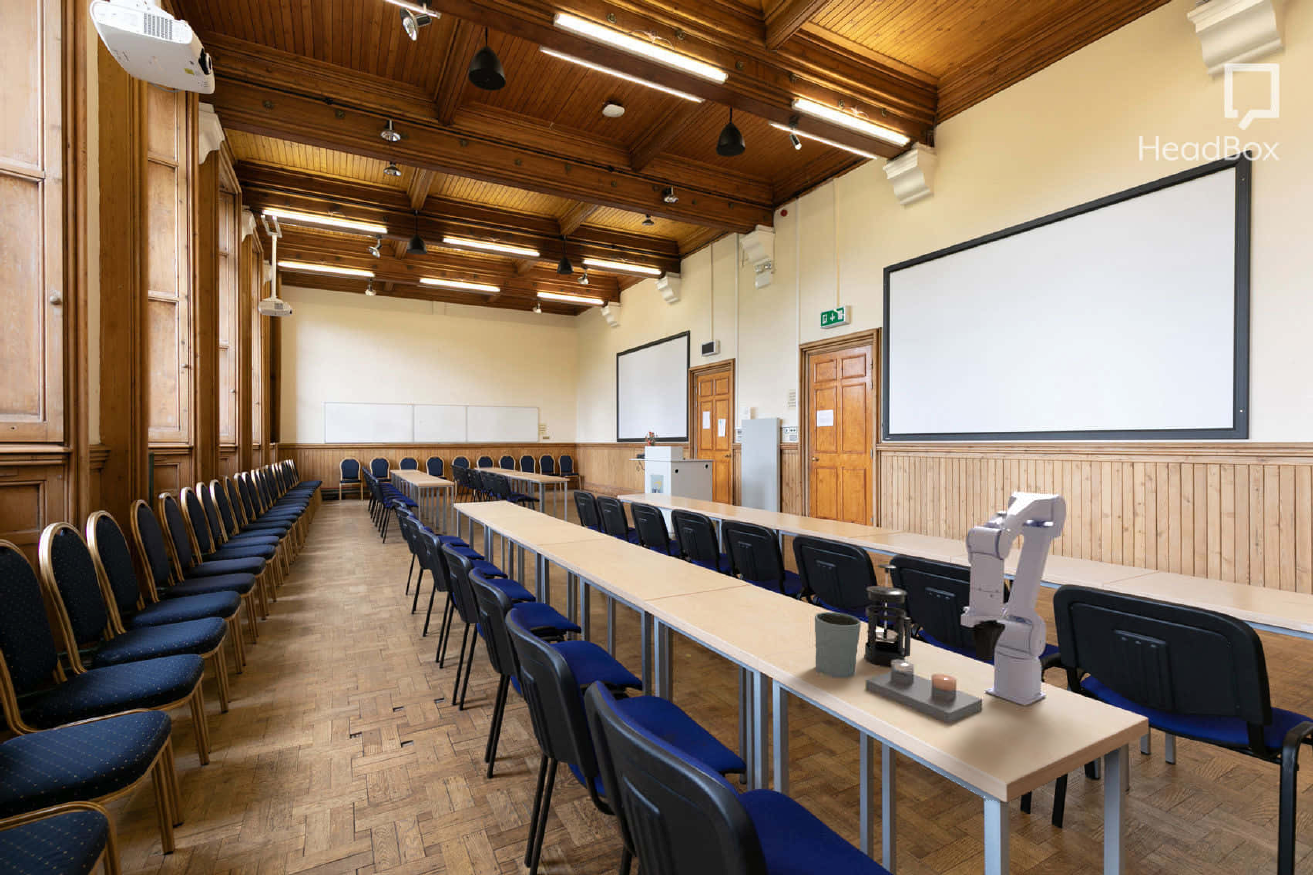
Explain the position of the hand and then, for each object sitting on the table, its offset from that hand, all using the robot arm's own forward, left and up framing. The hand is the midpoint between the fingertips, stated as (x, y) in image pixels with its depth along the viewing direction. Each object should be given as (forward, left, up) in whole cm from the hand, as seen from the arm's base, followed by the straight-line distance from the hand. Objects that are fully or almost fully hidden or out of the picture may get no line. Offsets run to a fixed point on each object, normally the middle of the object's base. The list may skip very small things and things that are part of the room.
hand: (984, 659), depth 115 cm
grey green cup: (+7, -29, -11) cm, 32 cm away
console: (+4, -10, -10) cm, 15 cm away
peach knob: (+4, -6, -11) cm, 13 cm away
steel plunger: (+4, -15, -11) cm, 18 cm away
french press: (-9, -27, -11) cm, 30 cm away
